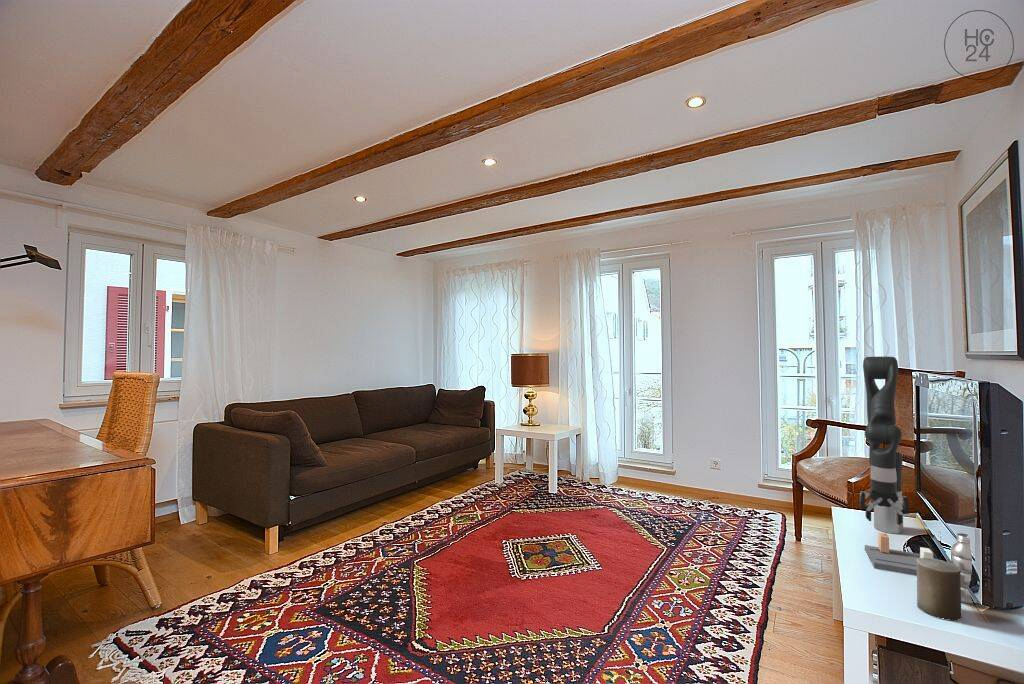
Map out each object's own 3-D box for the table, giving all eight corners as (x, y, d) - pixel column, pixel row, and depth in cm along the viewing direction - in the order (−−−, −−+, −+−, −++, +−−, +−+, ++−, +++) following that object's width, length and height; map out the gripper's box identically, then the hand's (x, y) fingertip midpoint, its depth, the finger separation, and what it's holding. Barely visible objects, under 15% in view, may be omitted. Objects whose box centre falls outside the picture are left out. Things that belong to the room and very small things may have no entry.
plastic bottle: (987, 608, 138) (986, 540, 139) (960, 606, 140) (960, 539, 140) (970, 596, 145) (969, 532, 145) (945, 594, 146) (944, 530, 146)
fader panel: (874, 568, 163) (874, 562, 163) (864, 550, 177) (864, 544, 177) (949, 581, 154) (949, 575, 154) (933, 561, 168) (933, 555, 168)
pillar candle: (965, 625, 130) (965, 571, 130) (919, 613, 136) (919, 561, 136) (956, 609, 138) (956, 558, 138) (913, 598, 144) (913, 550, 144)
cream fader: (923, 568, 158) (923, 551, 158) (920, 563, 162) (920, 547, 162) (933, 569, 157) (933, 553, 157) (929, 564, 161) (929, 548, 161)
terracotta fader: (880, 551, 171) (880, 536, 171) (878, 547, 174) (878, 532, 174) (889, 553, 170) (889, 537, 170) (886, 548, 173) (886, 533, 173)
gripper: (905, 478, 172) (905, 521, 172) (857, 473, 178) (857, 515, 179) (911, 483, 165) (911, 529, 165) (861, 478, 172) (862, 522, 172)
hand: (883, 522), depth 172 cm, fingers open, 8 cm apart
